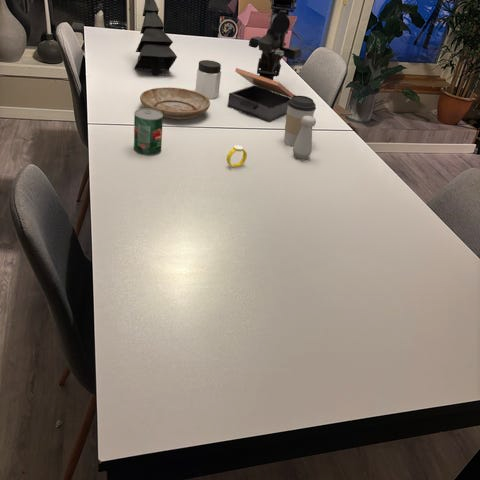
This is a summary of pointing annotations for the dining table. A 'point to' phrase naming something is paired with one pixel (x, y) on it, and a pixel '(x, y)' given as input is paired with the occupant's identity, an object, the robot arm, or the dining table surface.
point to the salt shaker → (304, 138)
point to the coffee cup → (297, 116)
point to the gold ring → (235, 148)
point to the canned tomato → (148, 132)
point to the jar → (208, 78)
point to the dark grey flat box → (259, 103)
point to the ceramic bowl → (175, 102)
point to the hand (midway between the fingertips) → (270, 72)
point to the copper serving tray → (265, 83)
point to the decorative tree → (154, 42)
